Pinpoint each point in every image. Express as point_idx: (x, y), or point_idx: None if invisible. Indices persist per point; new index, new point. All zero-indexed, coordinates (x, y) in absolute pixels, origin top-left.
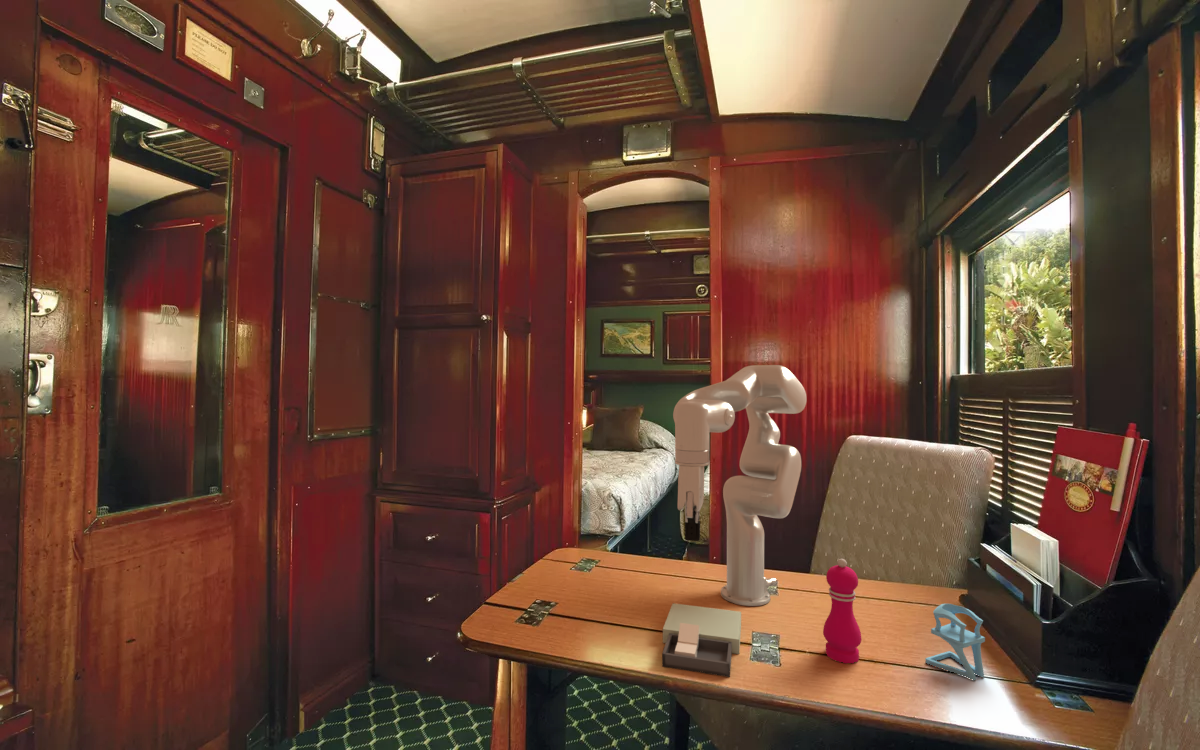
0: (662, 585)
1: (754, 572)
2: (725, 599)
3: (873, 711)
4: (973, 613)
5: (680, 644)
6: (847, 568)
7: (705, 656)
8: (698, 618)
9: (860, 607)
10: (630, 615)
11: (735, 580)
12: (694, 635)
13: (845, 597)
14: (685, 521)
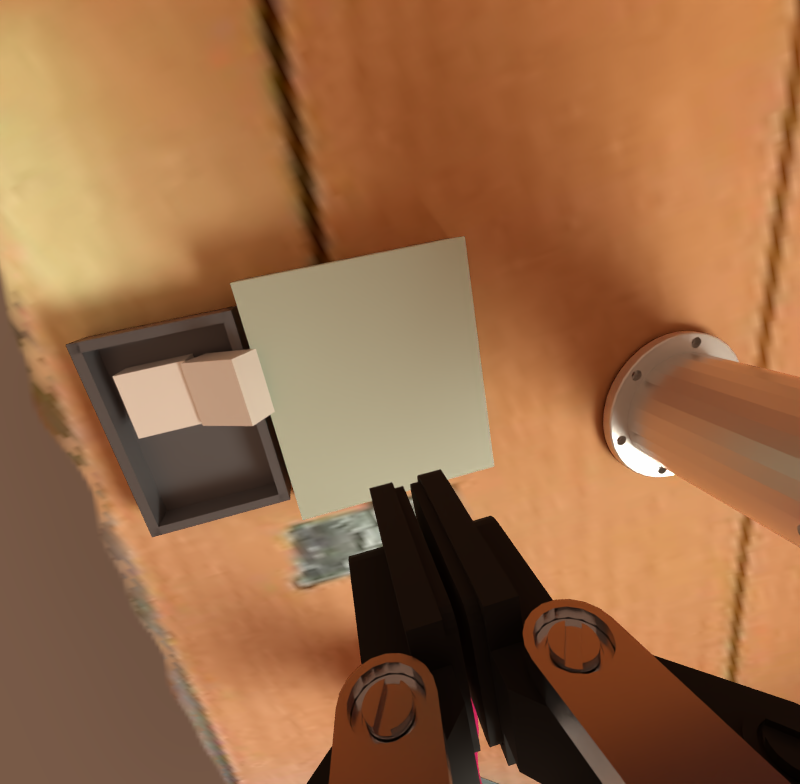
0: (690, 102)
1: (705, 487)
2: (628, 360)
3: (221, 757)
4: None
5: (170, 376)
6: None
7: (216, 436)
8: (381, 368)
9: (678, 640)
10: (380, 73)
11: (677, 412)
12: (217, 414)
13: None
14: (341, 694)
